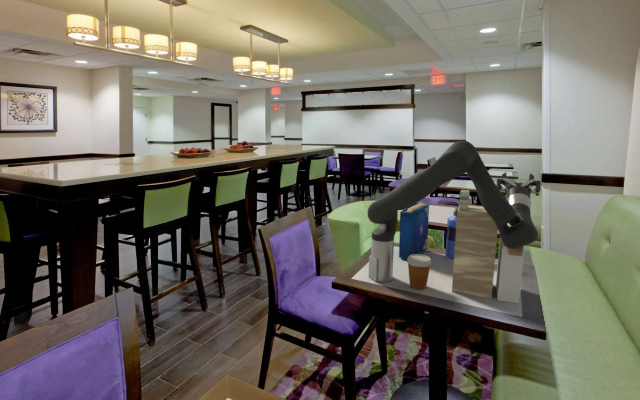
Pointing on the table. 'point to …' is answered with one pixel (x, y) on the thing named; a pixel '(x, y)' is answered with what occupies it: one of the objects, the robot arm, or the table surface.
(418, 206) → the book
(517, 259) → the grey rectangular block
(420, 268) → the disposable coffee cup
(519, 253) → the walnut block
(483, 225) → the birch rack
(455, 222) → the water bottle
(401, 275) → the table surface
